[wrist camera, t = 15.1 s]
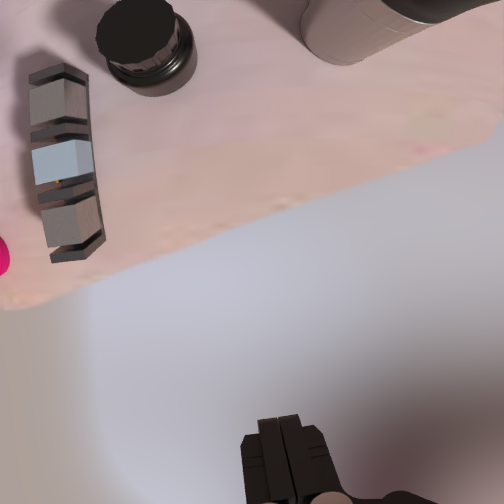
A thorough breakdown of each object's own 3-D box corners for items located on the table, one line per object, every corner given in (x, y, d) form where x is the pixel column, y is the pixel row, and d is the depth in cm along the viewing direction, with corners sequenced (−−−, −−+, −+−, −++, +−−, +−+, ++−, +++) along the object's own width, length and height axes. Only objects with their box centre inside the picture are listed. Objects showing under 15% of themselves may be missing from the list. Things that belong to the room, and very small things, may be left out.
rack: (54, 84, 30) (26, 76, 23) (88, 74, 30) (63, 62, 24) (73, 244, 37) (48, 263, 30) (106, 240, 37) (85, 259, 30)
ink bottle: (192, 18, 30) (183, -30, 18) (209, 83, 33) (205, 55, 21) (113, 44, 30) (74, 9, 18) (127, 109, 32) (88, 94, 21)
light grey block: (53, 150, 31) (31, 150, 25) (90, 141, 32) (74, 139, 26) (57, 179, 32) (35, 185, 26) (94, 171, 33) (78, 175, 27)
